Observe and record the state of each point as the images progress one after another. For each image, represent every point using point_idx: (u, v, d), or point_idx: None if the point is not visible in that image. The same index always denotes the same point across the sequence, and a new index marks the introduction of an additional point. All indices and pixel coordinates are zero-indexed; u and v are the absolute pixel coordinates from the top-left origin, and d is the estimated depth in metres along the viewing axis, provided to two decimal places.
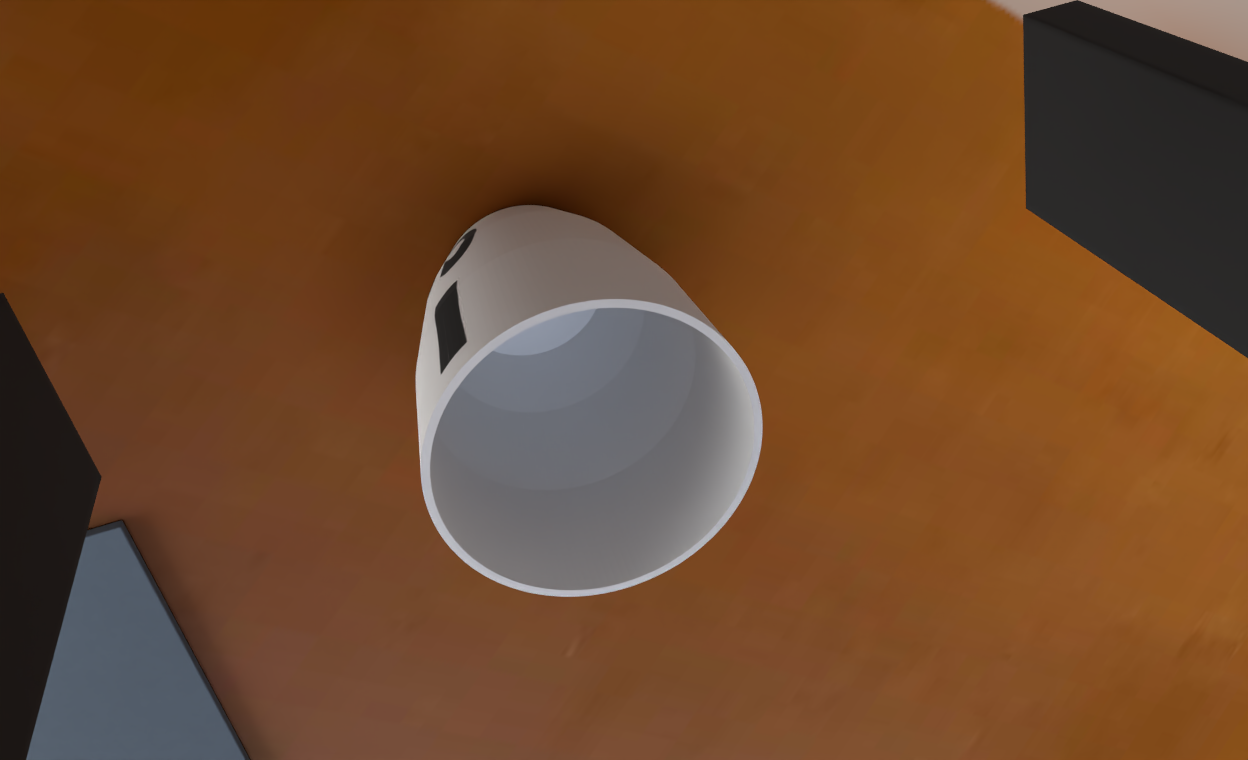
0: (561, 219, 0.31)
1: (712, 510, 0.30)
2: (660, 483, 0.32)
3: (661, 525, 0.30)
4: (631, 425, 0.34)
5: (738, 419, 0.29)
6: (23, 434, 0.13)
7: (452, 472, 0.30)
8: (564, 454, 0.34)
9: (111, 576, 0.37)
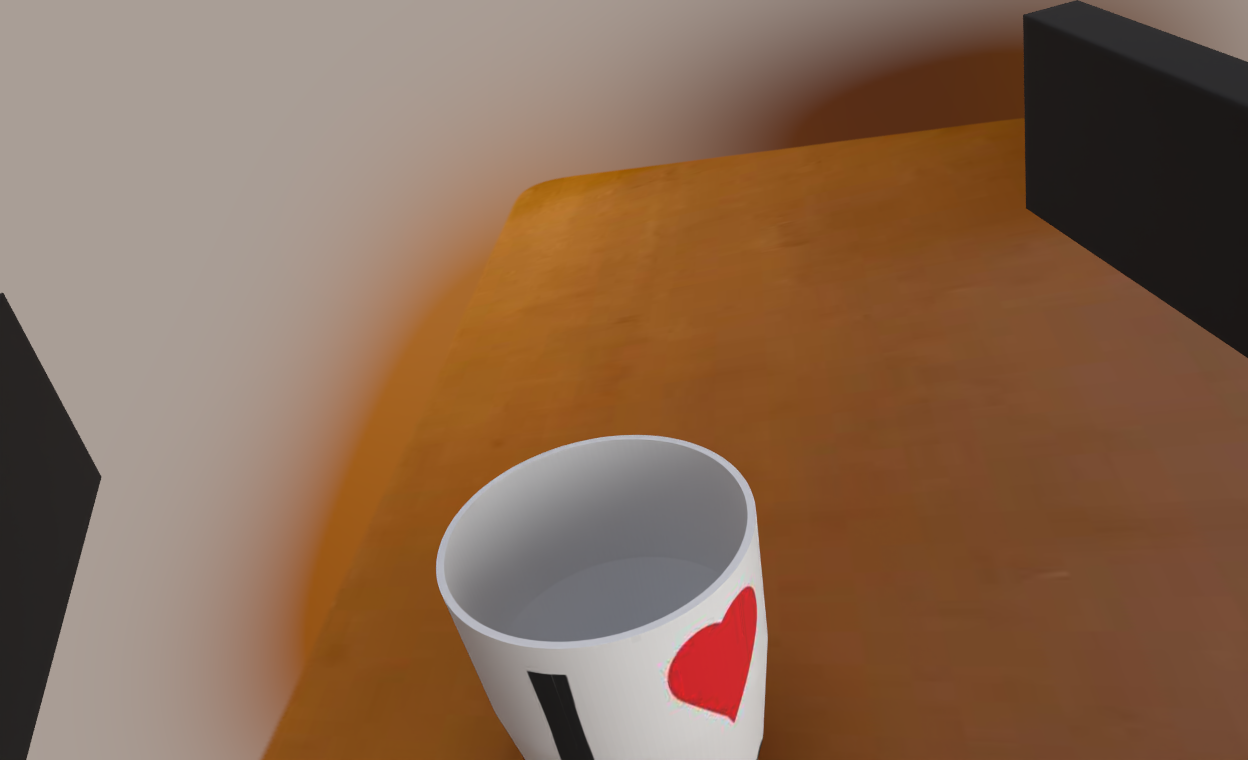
0: None
1: (636, 452, 0.33)
2: (677, 521, 0.33)
3: (685, 484, 0.32)
4: (686, 596, 0.35)
5: (556, 484, 0.33)
6: (23, 434, 0.13)
7: None
8: None
9: None
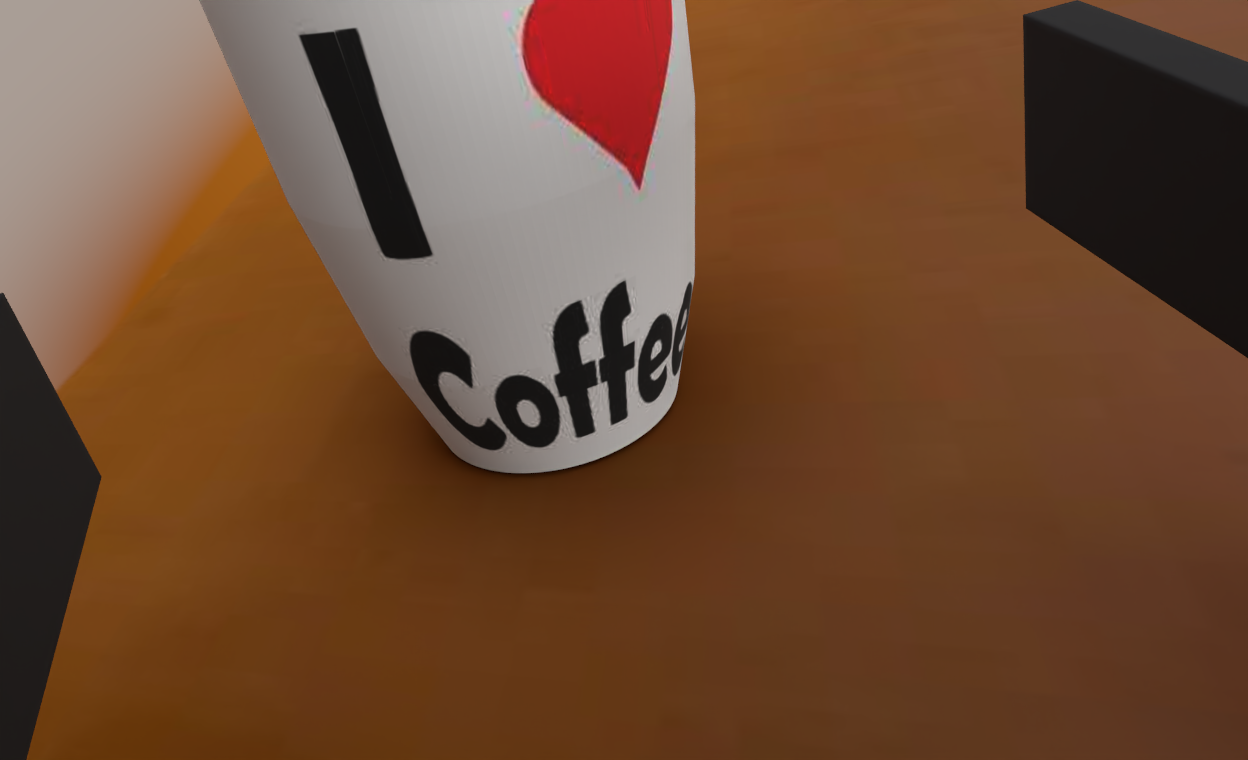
0: None
1: None
2: None
3: None
4: None
5: None
6: (23, 434, 0.13)
7: None
8: None
9: None
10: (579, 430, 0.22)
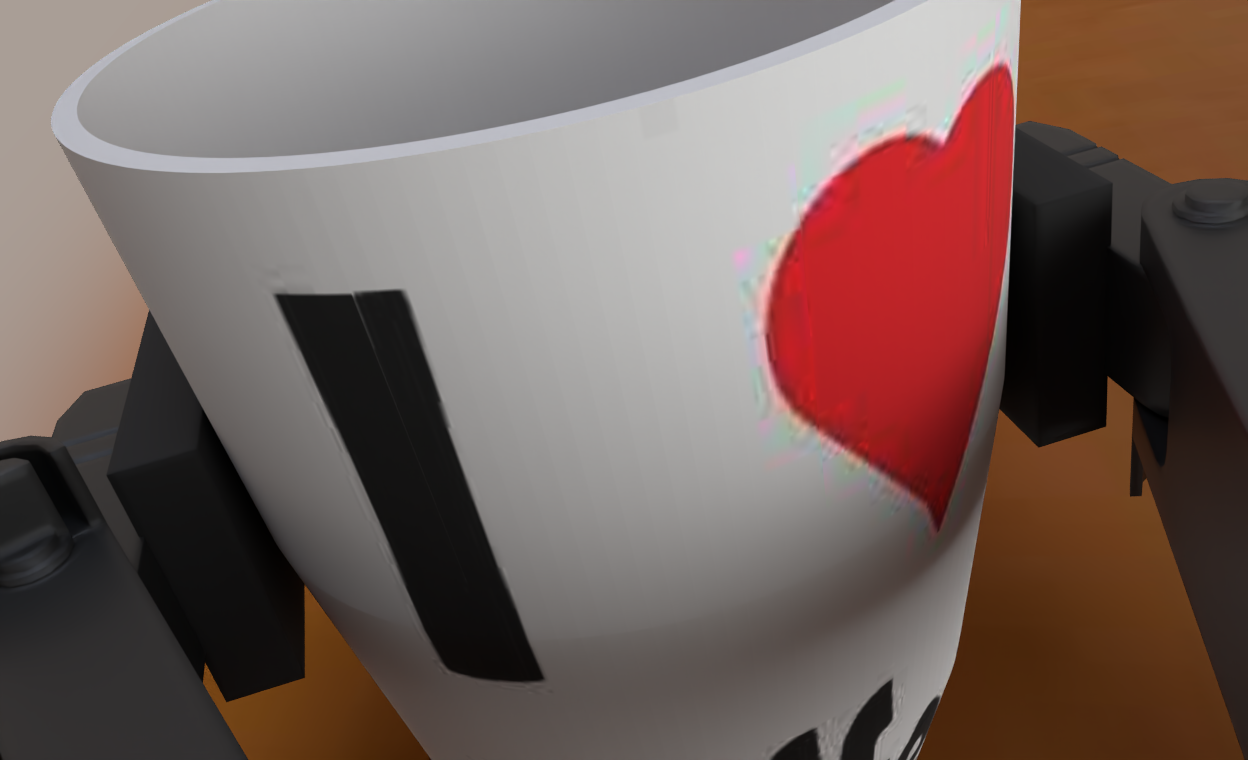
0: None
1: None
2: None
3: None
4: None
5: (454, 13, 0.14)
6: None
7: None
8: None
9: None
10: None
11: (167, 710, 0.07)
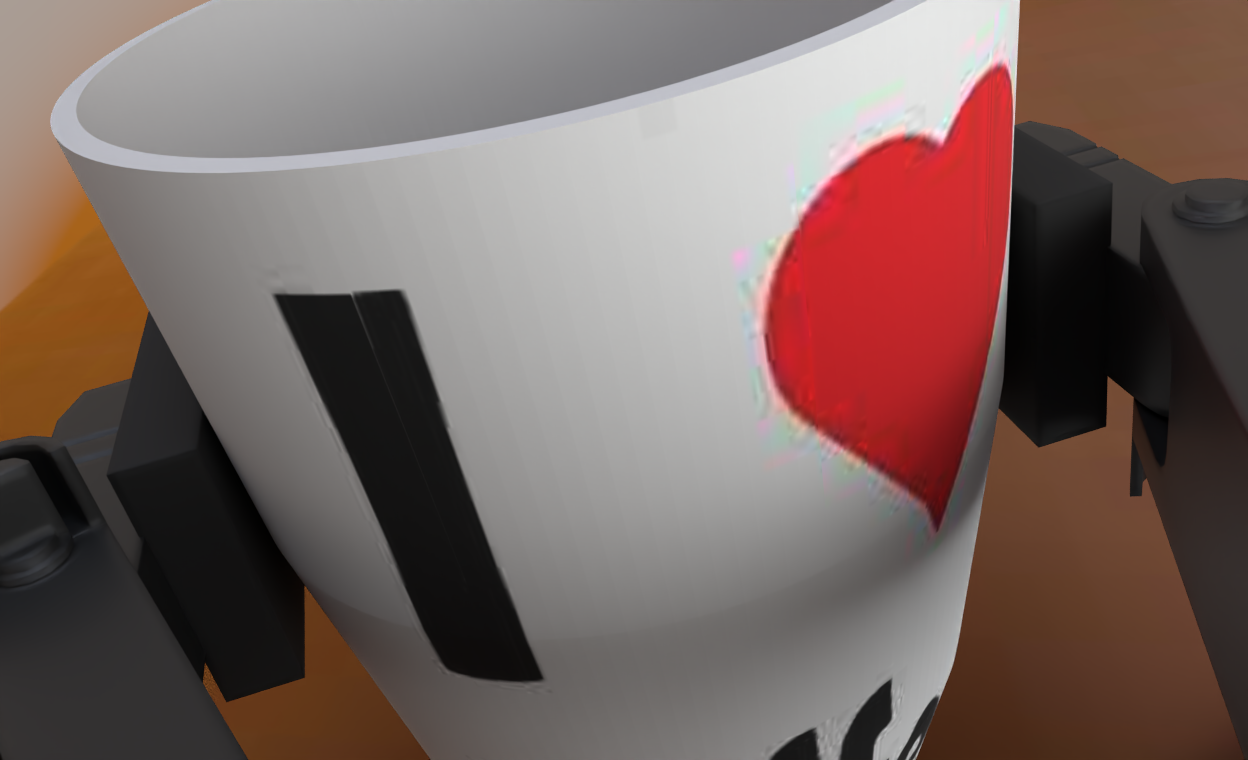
0: None
1: None
2: None
3: None
4: None
5: (454, 13, 0.14)
6: None
7: None
8: None
9: None
10: None
11: (166, 711, 0.07)
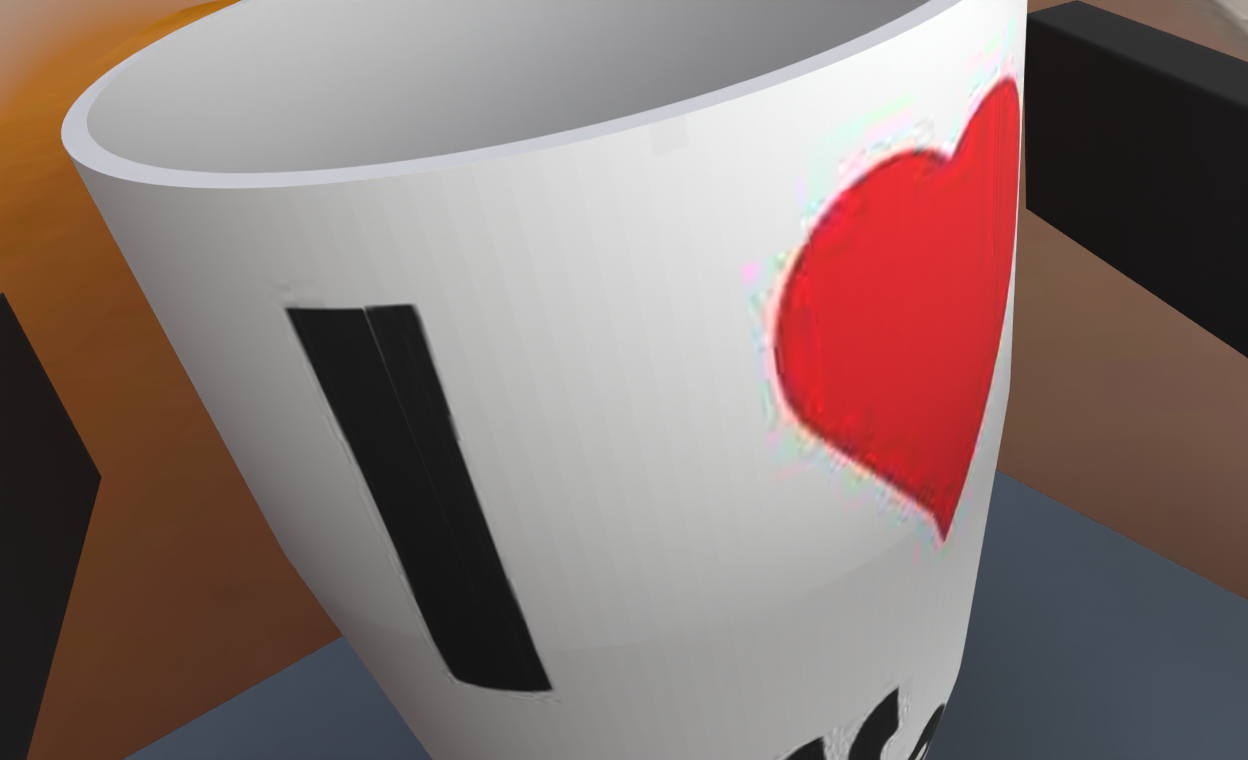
0: None
1: None
2: None
3: (775, 2, 0.13)
4: None
5: (460, 22, 0.14)
6: (23, 434, 0.13)
7: None
8: None
9: (214, 754, 0.17)
10: None
11: None
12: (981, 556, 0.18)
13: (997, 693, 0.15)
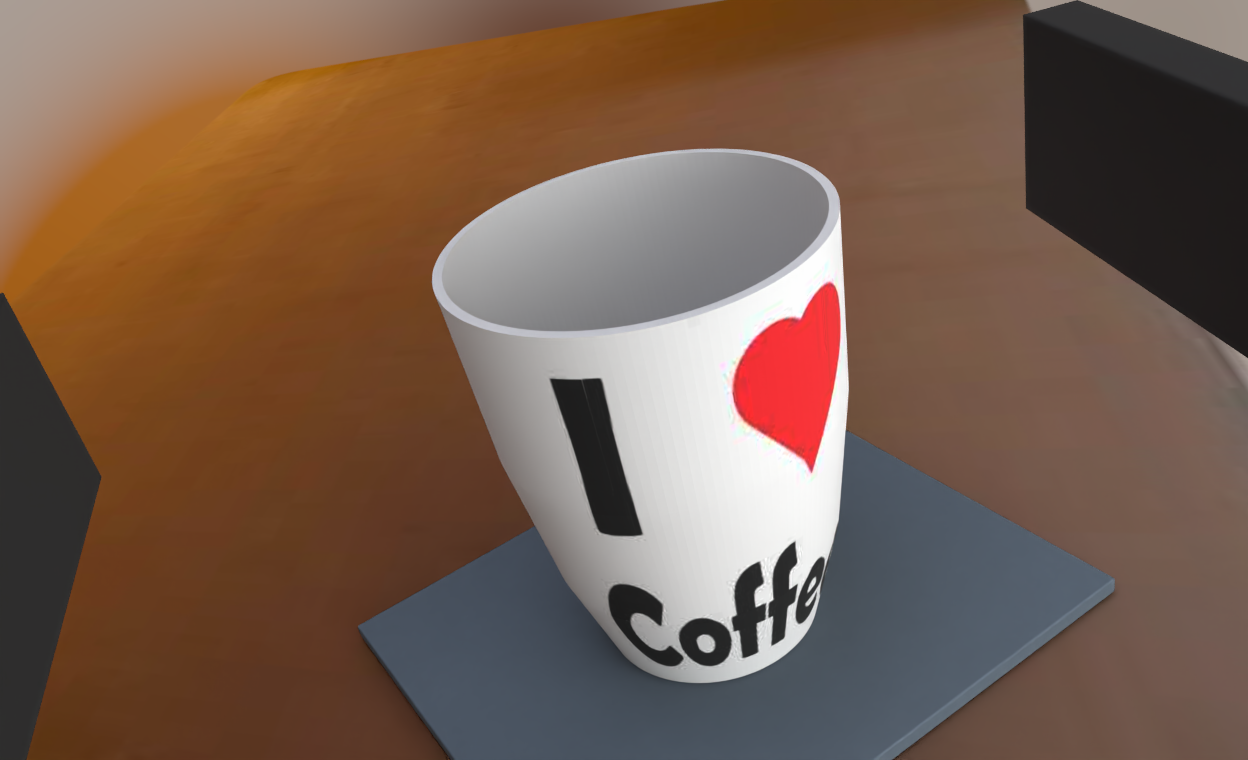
0: None
1: (678, 172, 0.27)
2: (729, 263, 0.27)
3: (741, 209, 0.26)
4: None
5: (580, 215, 0.27)
6: (23, 434, 0.13)
7: None
8: None
9: (428, 612, 0.30)
10: (745, 652, 0.25)
11: None
12: (866, 498, 0.31)
13: (866, 568, 0.28)
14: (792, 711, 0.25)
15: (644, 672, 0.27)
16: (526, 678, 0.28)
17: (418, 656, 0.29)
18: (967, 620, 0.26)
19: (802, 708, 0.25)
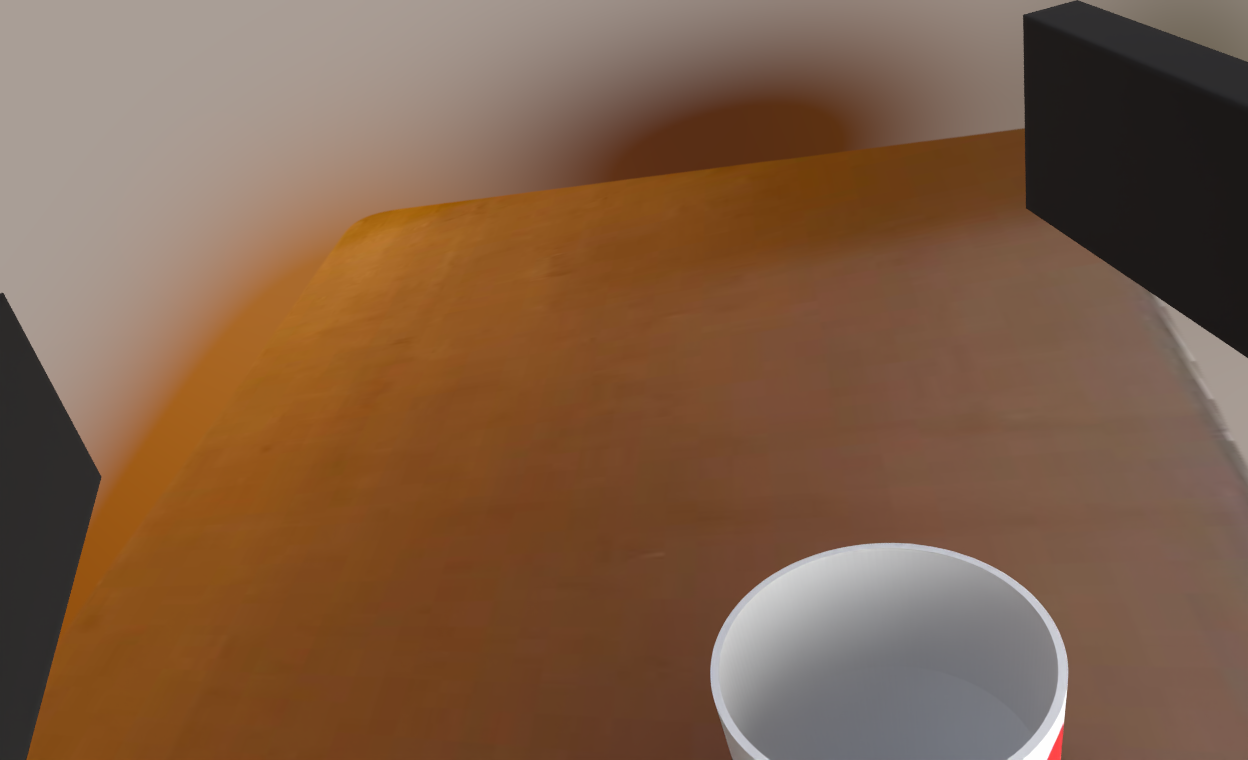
0: None
1: (895, 561, 0.31)
2: (934, 632, 0.31)
3: (951, 596, 0.31)
4: (935, 707, 0.33)
5: (808, 594, 0.31)
6: (23, 434, 0.13)
7: None
8: (1003, 747, 0.31)
9: None
10: None
11: None
12: None
13: None
14: None
15: None
16: None
17: None
18: None
19: None
